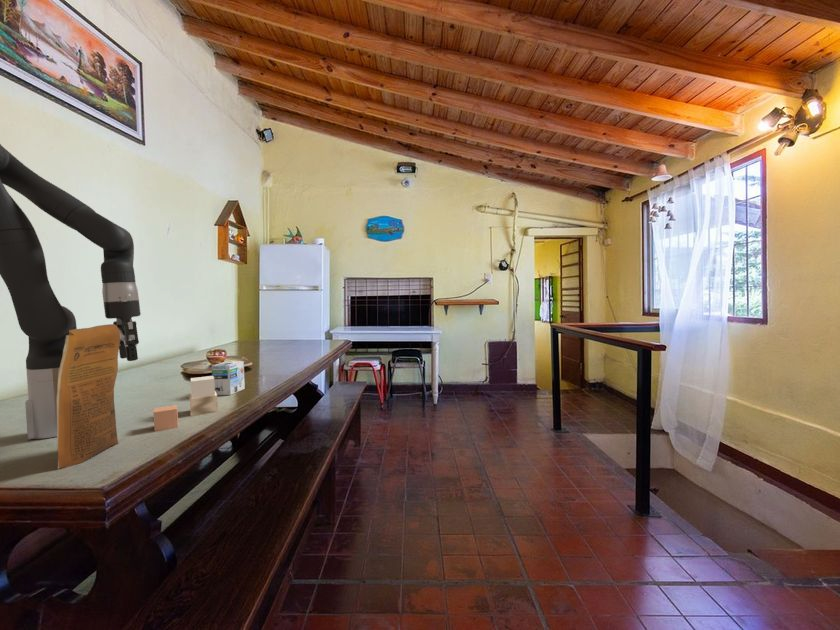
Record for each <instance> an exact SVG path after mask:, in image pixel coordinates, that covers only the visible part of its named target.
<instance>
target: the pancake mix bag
mask: <svg viewBox="0 0 840 630" xmlns="http://www.w3.org/2000/svg"><path fill="white" fill-rule="evenodd" d="M119 344H120V333H119V328H118V327H117V326H116V325H115V324H113V323H111V324H102V325H94V326H91V327H84V328H83V327H82V328H77V329H73V330H69V335H66V340H65V345H64V349H63V356H62V360H61V364H60V370H59V376H58V387H57V427H58V428H57V436H56V439H57V440H56V441H57V443H56V446H57V448H56V449H57V453H58V454H57V470H58V469H62V468H64V469H65V468H68V467H72V466H75V465H76V466H77V465H79V464H81V463H84V461H85V462H87V461H88V459H89V460H90V459H92V458H94V457H95V455H96V456H97V455H99V454H101V453H103V452H105V451H106V450H108V449H110V448H111V446H112V447H114V446H115V445H117V444H119V439H118V431H117V418H116V409H115V386H116V380H117V376H118V368H119V367H118V366H119V360H118V359H119ZM109 447H110V448H109ZM102 451H103V452H102ZM100 452H101V453H100ZM98 453H99V454H98ZM93 456H94V457H93ZM91 457H92V458H91ZM86 460H87V461H86Z"/></svg>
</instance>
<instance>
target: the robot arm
mask: <svg viewBox="0 0 840 630" xmlns="http://www.w3.org/2000/svg"><path fill="white" fill-rule="evenodd" d="M5 186H7V188H8V187H9V188H10V189H12V190H14V191H16V192H17V193H18V194H20V195H21V196H23V197H25V198H26V199H27V200H28V201H29V202H31V203H33V204H34V205H35V206H36V207H38V208H39V210H41V211H43V212H45V213H46V214H47V215H49V216H50V217H52V218H54V219H55V220H56V221H58V222H60V223H62V224H63V225H65V226H66V227H69V228H71V229H73V230H74V231H76V232H78V234H80V235H82V236H83V237H84V238H86V239H87V240H88V241H90V242H91V243H93V244H94V245H96V246H98V247H99V248H101V249H102V250H103V262H101V264H100V275H101V283H102V288H101V289H102V291H101V292H102V301H103V308H104V316H105V318H106V320H107V319H108V320H109V319H110V320H111V319H113V320H114V319H116V321H115V320H114V321H113V323H112V324H115V325H116V326H117V327H118V328H119V333H120V344H119V351H118V354H119V358H120V359H126V361H128V362H135V361H137V360H138V359H139V357H138V349H137V348H138V347H137V346H138V344H139V343H140V341H139V336H138V335H139V334H138V329H137V322H136V320H134V321H133V319H132V318H135V317H137V318H138V317H140V316H141V306H140V298H139V290H138V286H137V284H136V276H135V275H136V274H135V269H134V257H135V254H134V253H135V245H134V239H133V237H132V234H131V233H130V232H129V231H128V230H127V229H125V228H124V227H121V226H120V225H118V224H117V223H115V222H113V221H111V220H109V219H108V218H106V217H105V216H102V215H101V214H99V213H97V212H96V211H95V210H94V209H93V208H92V207H90V206H89V205H87V204H86V203H84V202H83V201H81V200H79V198H77V197H75V196H73V195H72V194H71V193H69V192H67V191H66V190H63V188H60V187H59V186H57V185H56V184H53V183H52V182H50V181H48V180H47V179H45V178H44V177H42V176H40V174H38V173H36V172H35V171H34V170H31V168H29V167H28V166H26V165H25V164H24V163H23V162H22V161H20V160H19V159H18V158H17V157H15V156H14V155H13V154H12V153H11V152H10V151H8V149H6V148H5V147H4V146H3V145H2V144H1V143H0V277H1V278H2V280H3V282H4V284H5V285H6V287H7V290H8V293H9V295H10V299H11V302H12V304H13V308H14V311H15V314H16V318H17V322H18V325H19V328H20V330H21V331H22V332H23V333H24V334H25V335H26V336H27V337H28V351H27V356H26V358H25V369H26V370H25V371H26V382H27V383H26V384H27V396H28V398H27V399H26V401H25V414H26V415H25V417H26V432H27V440H34V439H35V440H36V439H38V440H39V439H50V438H55V437H56V438H57V428H58V427H57V387H58V376H59V370H60V364H61V360H62V356H63V349H64V345H65V340H66V335H69V330H73V329H78V327H77V320H76V317H75V315H74V313H73V312H72V311H71V310H70V309H69V308H68V307H65V306H63V305H62V304H61V302H60V301H59V299H58V298H57V296H56V295H55V292H54V291H53V289H52V286H51V284H50V281H49V277H48V272H47V271H48V270H47V265H46V258H45V253H44V250H43V247H42V244H41V242H40V239H39V237H38V234H37V232H36V229H35V227H34V226H33V224H32V222H31V221H30V219H29V217H28V216H27V215H26V213H25V212H24V211H23V210H22V208H21V207H20V205H19V204H18V203H17V202H16V201H15V200H14V199H13V197H12V195H10V193H9V192H8V190H7V188H6V187H5Z"/></svg>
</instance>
